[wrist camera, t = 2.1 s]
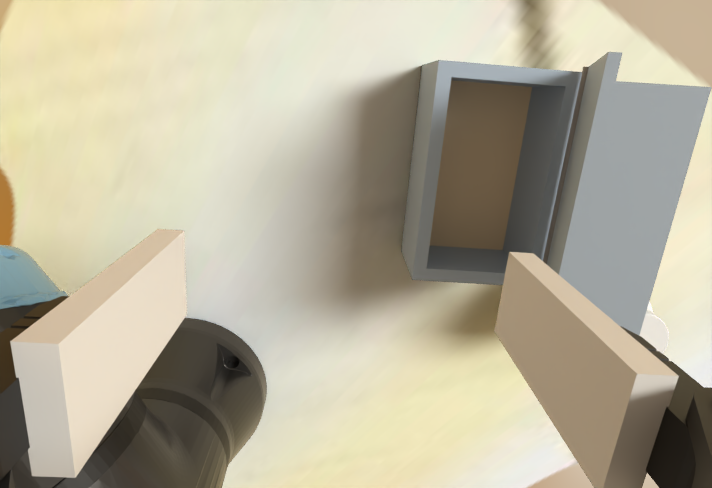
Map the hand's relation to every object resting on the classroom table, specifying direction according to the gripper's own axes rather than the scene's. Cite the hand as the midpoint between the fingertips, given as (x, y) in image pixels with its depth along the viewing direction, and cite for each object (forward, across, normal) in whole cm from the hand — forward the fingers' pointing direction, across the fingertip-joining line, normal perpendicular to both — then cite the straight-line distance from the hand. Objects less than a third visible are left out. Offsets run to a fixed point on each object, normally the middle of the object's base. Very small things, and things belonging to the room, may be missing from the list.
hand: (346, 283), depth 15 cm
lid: (+16, +14, 0) cm, 21 cm away
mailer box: (+28, +11, 0) cm, 30 cm away
